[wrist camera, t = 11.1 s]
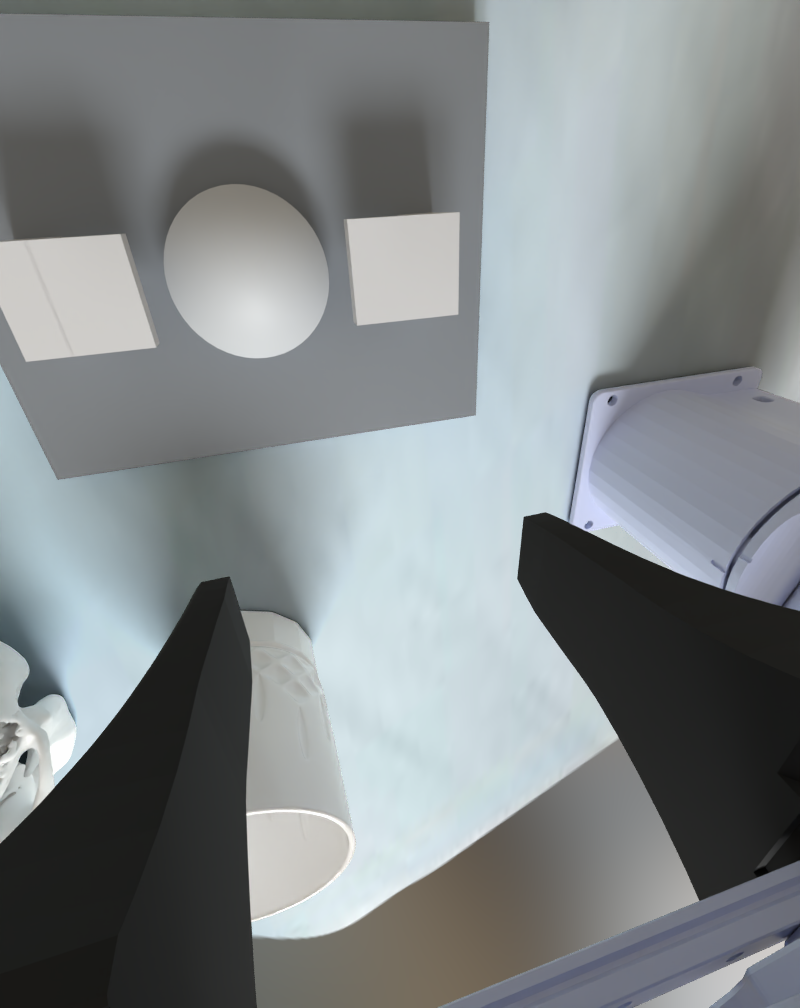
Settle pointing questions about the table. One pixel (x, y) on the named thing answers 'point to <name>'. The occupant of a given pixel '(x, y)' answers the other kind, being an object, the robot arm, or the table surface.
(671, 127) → the table surface
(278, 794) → the white cup
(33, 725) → the skull bowl
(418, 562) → the table surface
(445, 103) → the post base
